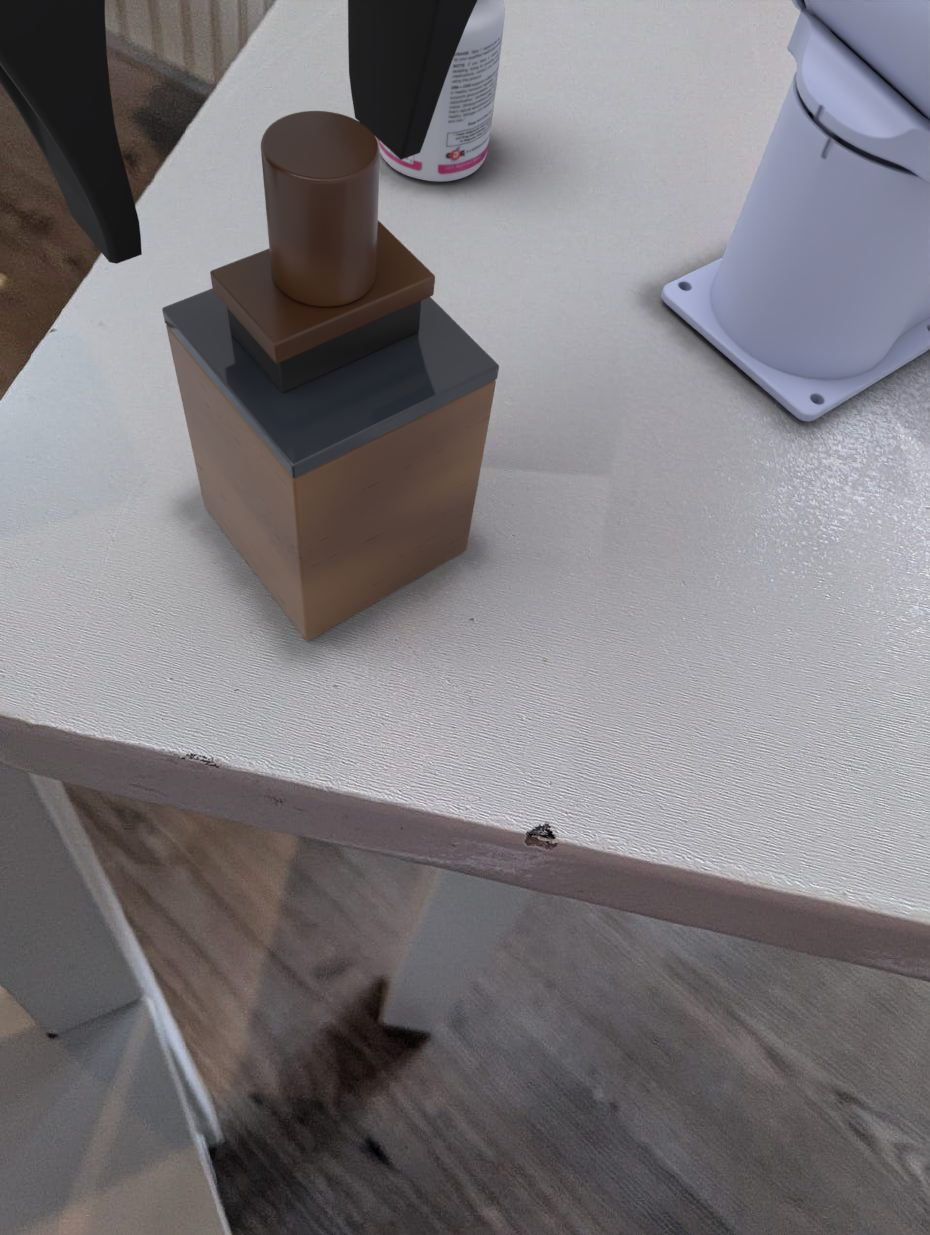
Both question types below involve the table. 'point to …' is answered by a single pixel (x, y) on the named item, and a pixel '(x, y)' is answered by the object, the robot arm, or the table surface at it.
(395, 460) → the stand
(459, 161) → the pill bottle
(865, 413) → the table surface
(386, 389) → the tile
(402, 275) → the rubber stamp
